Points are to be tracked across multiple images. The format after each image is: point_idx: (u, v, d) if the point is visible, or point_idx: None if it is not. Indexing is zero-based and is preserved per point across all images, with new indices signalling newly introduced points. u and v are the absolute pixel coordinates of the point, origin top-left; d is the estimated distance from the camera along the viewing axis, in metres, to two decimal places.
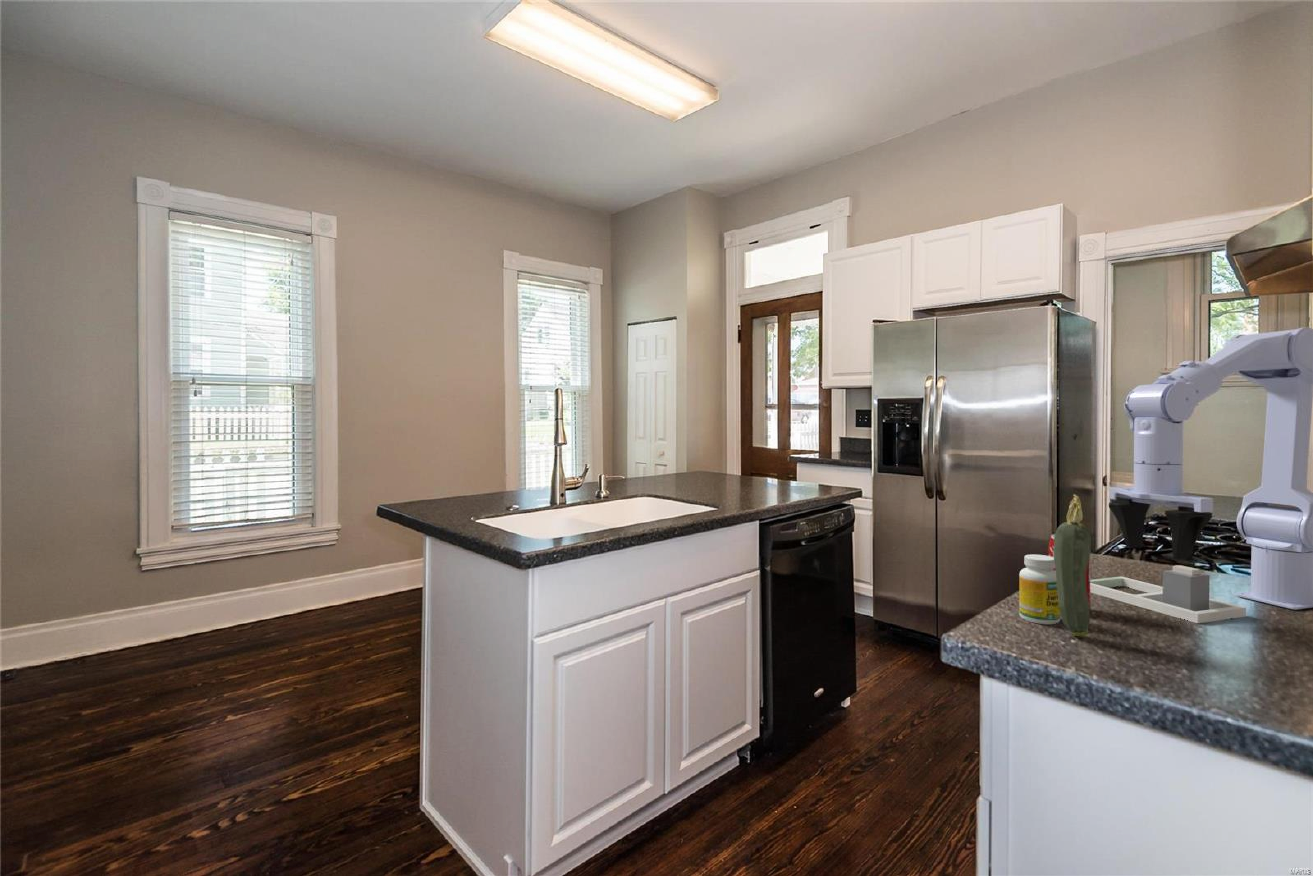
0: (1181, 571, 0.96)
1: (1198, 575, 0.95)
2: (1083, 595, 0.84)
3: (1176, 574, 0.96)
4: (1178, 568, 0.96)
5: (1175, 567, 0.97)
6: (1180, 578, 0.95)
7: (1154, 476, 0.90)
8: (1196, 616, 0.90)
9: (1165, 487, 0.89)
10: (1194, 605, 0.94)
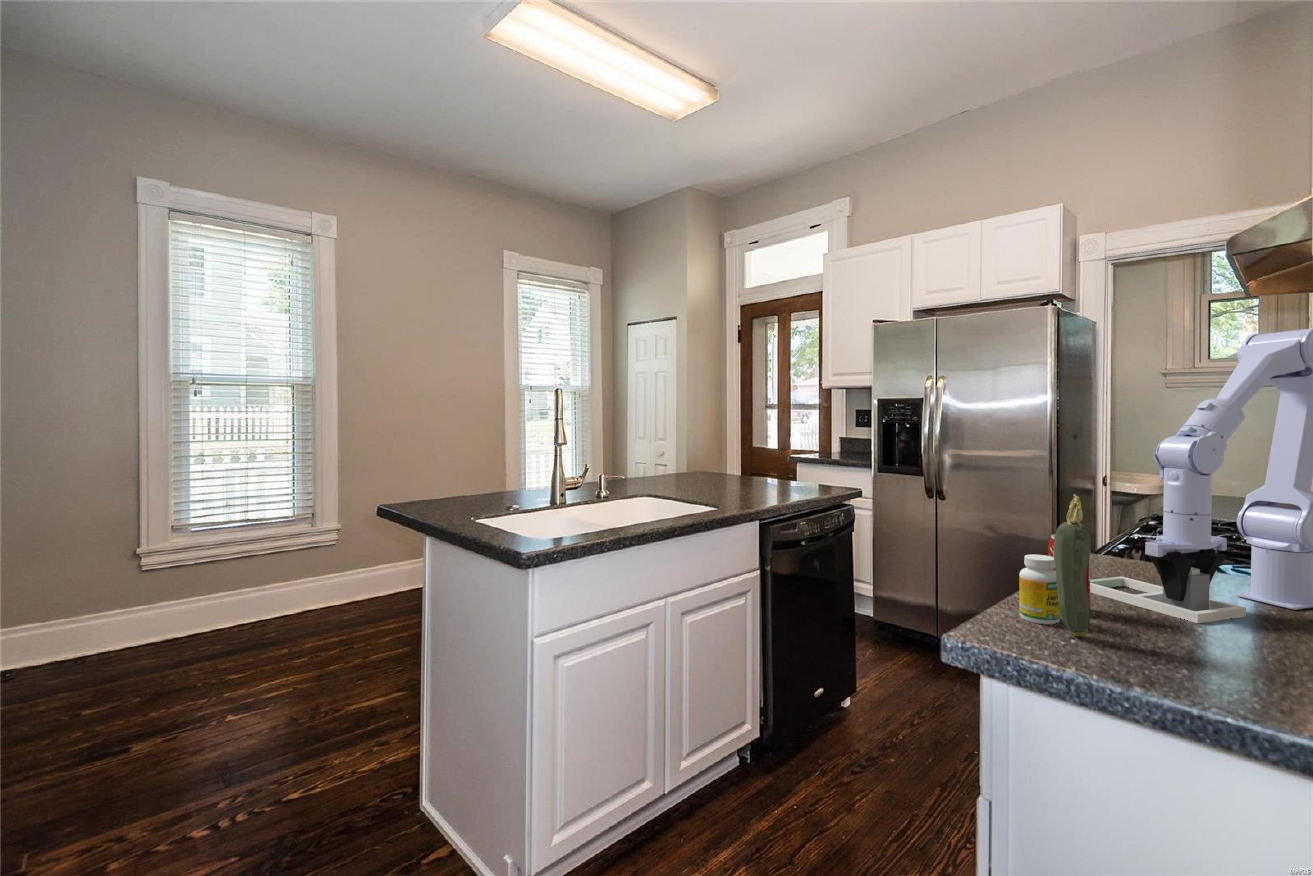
0: None
1: (1198, 574, 0.95)
2: (1083, 595, 0.84)
3: None
4: None
5: None
6: None
7: (1163, 521, 0.98)
8: (1196, 616, 0.90)
9: (1165, 532, 0.97)
10: (1194, 605, 0.94)
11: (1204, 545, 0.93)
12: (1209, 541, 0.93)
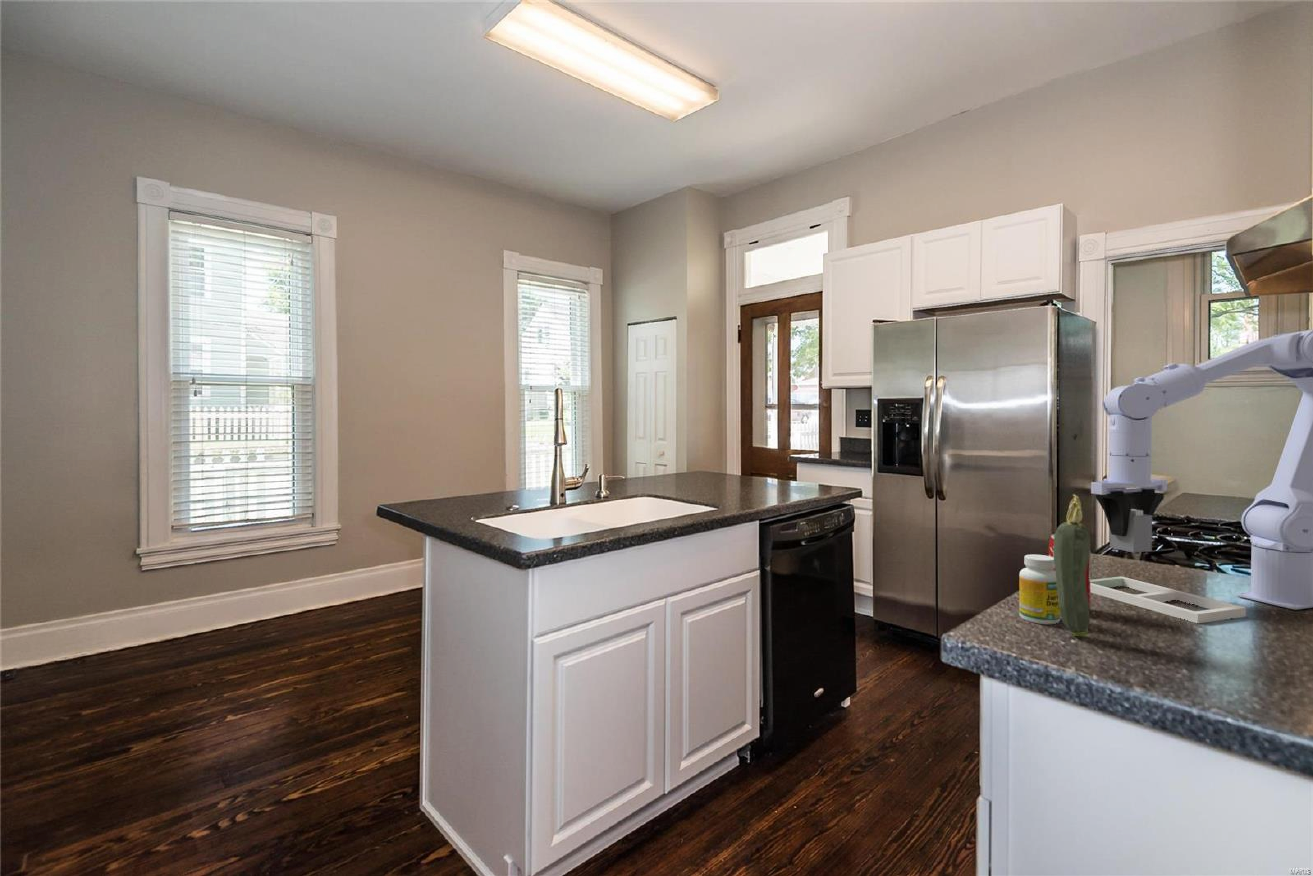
0: None
1: (1141, 515, 1.03)
2: (1083, 595, 0.84)
3: None
4: None
5: None
6: None
7: None
8: (1196, 616, 0.90)
9: (1110, 474, 1.05)
10: (1138, 543, 1.02)
11: (1144, 484, 1.01)
12: (1149, 480, 1.02)
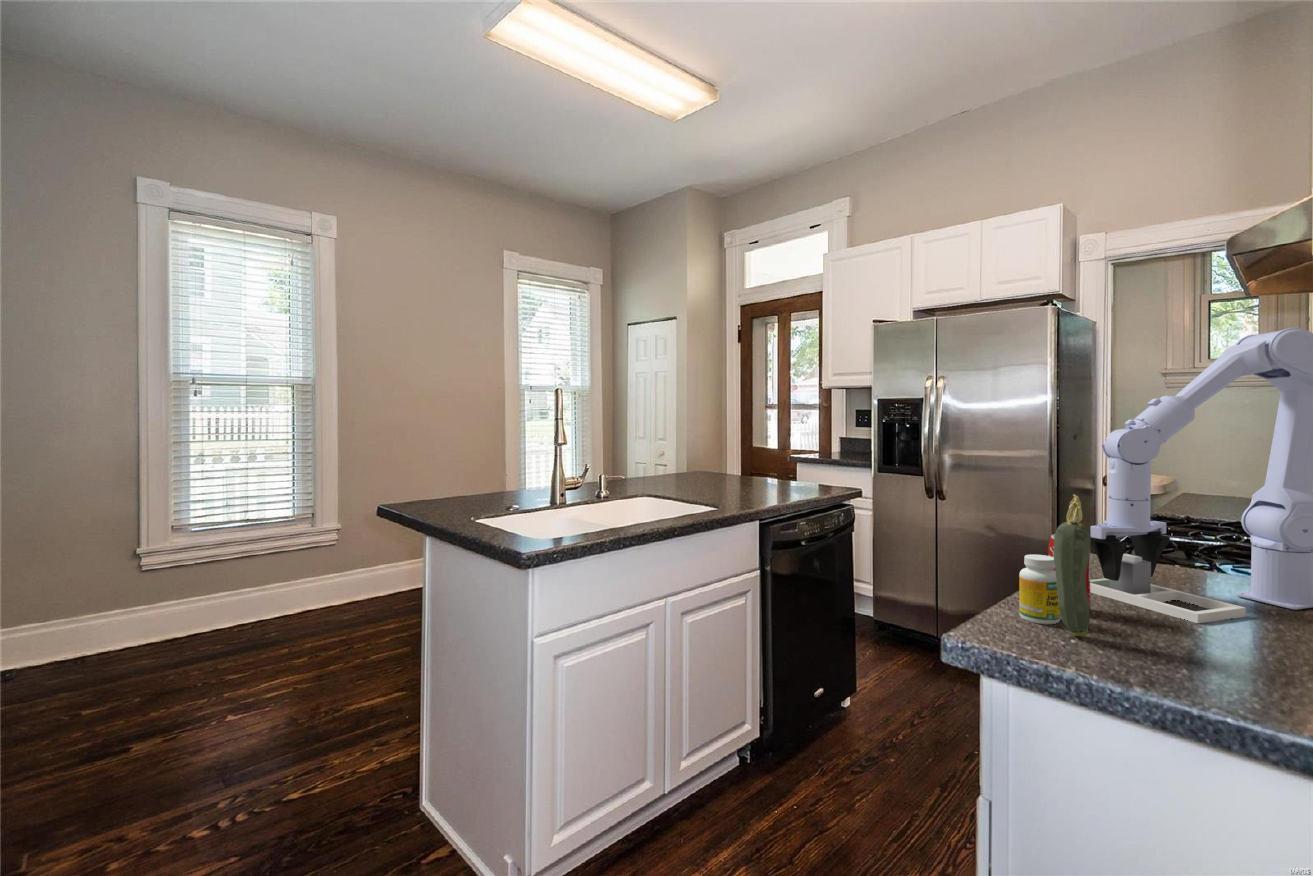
0: (1125, 559, 1.04)
1: (1140, 562, 1.03)
2: (1083, 595, 0.84)
3: None
4: (1123, 556, 1.05)
5: None
6: (1124, 565, 1.03)
7: (1108, 507, 1.06)
8: (1196, 616, 0.90)
9: (1109, 517, 1.05)
10: (1137, 590, 1.02)
11: (1143, 528, 1.02)
12: (1148, 525, 1.02)
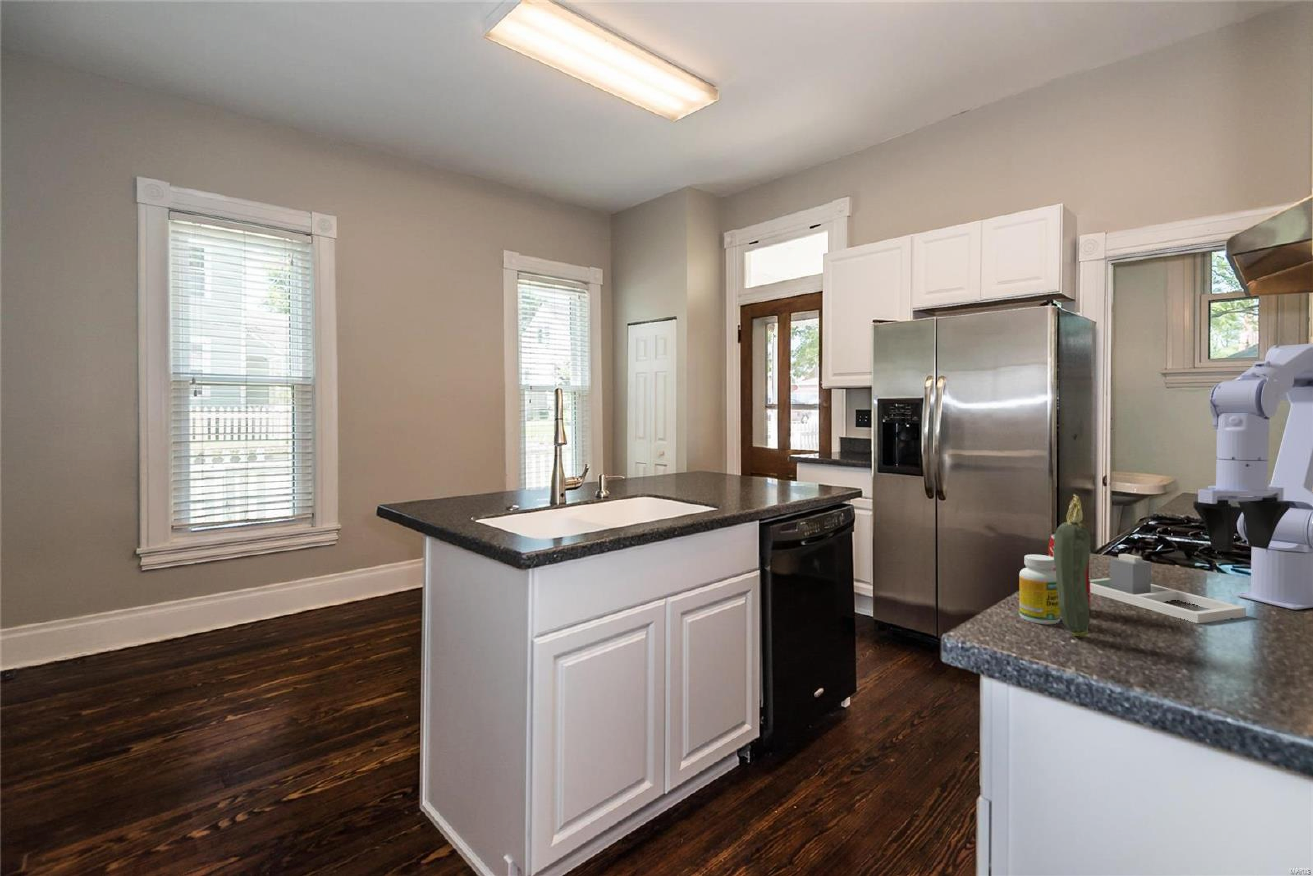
0: (1126, 559, 1.04)
1: (1140, 562, 1.03)
2: (1083, 595, 0.84)
3: (1121, 561, 1.04)
4: (1123, 556, 1.05)
5: (1120, 555, 1.05)
6: (1124, 565, 1.03)
7: (1216, 469, 0.94)
8: (1196, 616, 0.90)
9: (1218, 481, 0.93)
10: (1137, 590, 1.02)
11: (1261, 492, 0.89)
12: (1266, 488, 0.90)
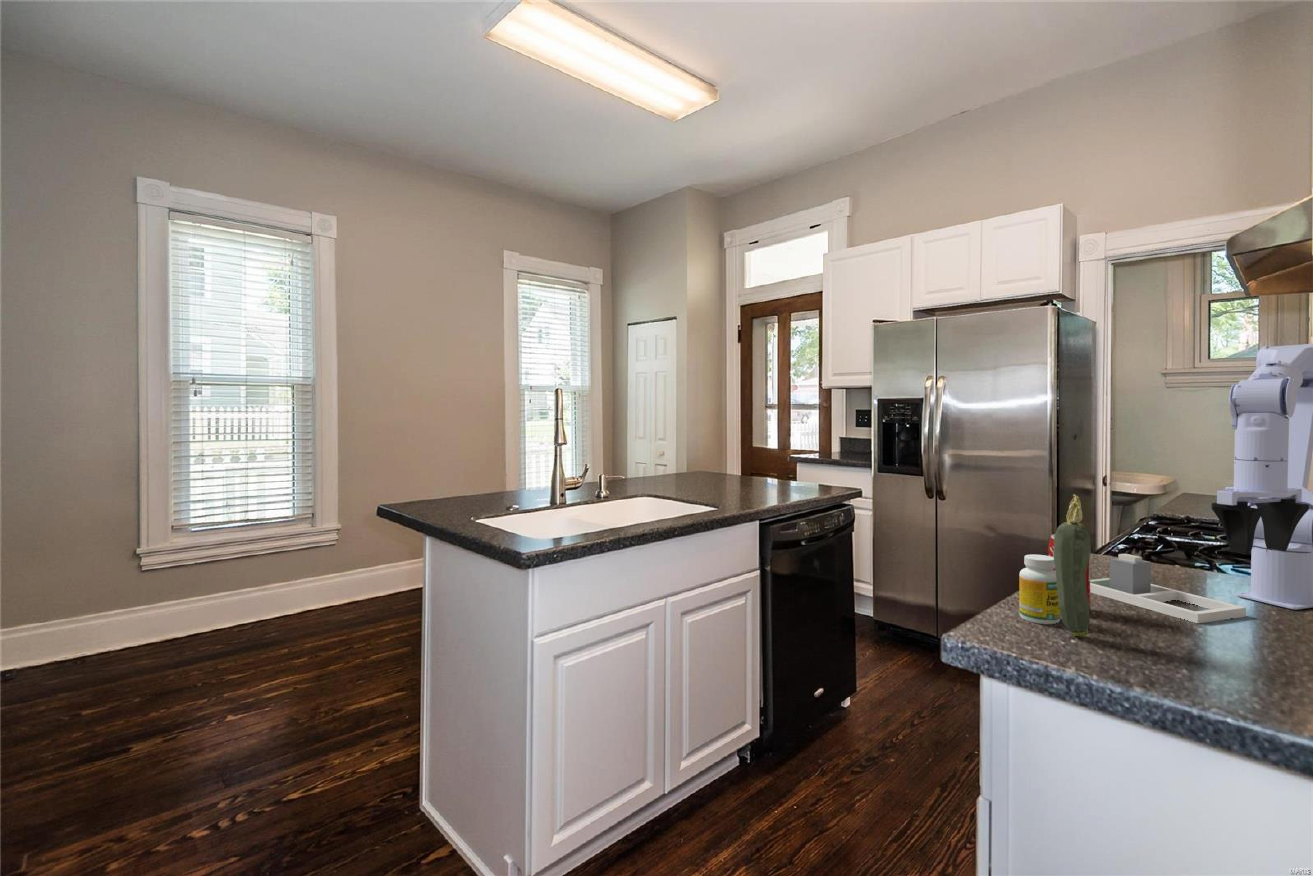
0: (1125, 559, 1.04)
1: (1140, 562, 1.03)
2: (1083, 595, 0.84)
3: (1121, 561, 1.04)
4: (1123, 556, 1.05)
5: (1120, 555, 1.05)
6: (1124, 565, 1.03)
7: (1234, 470, 0.92)
8: (1196, 616, 0.90)
9: (1237, 482, 0.91)
10: (1137, 590, 1.02)
11: (1281, 493, 0.88)
12: (1286, 489, 0.88)
